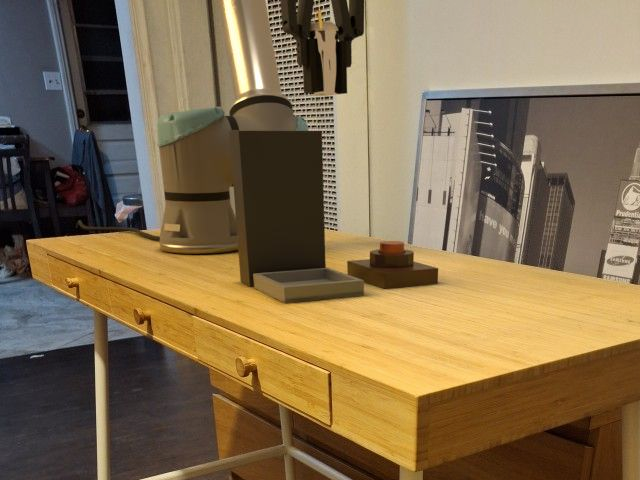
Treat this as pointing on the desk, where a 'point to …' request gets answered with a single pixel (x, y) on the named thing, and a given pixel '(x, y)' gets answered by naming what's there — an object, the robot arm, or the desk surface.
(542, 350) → the desk surface
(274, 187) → the coffee maker
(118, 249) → the desk surface
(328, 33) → the milkshake
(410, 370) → the desk surface
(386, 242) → the brew button
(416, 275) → the panel
